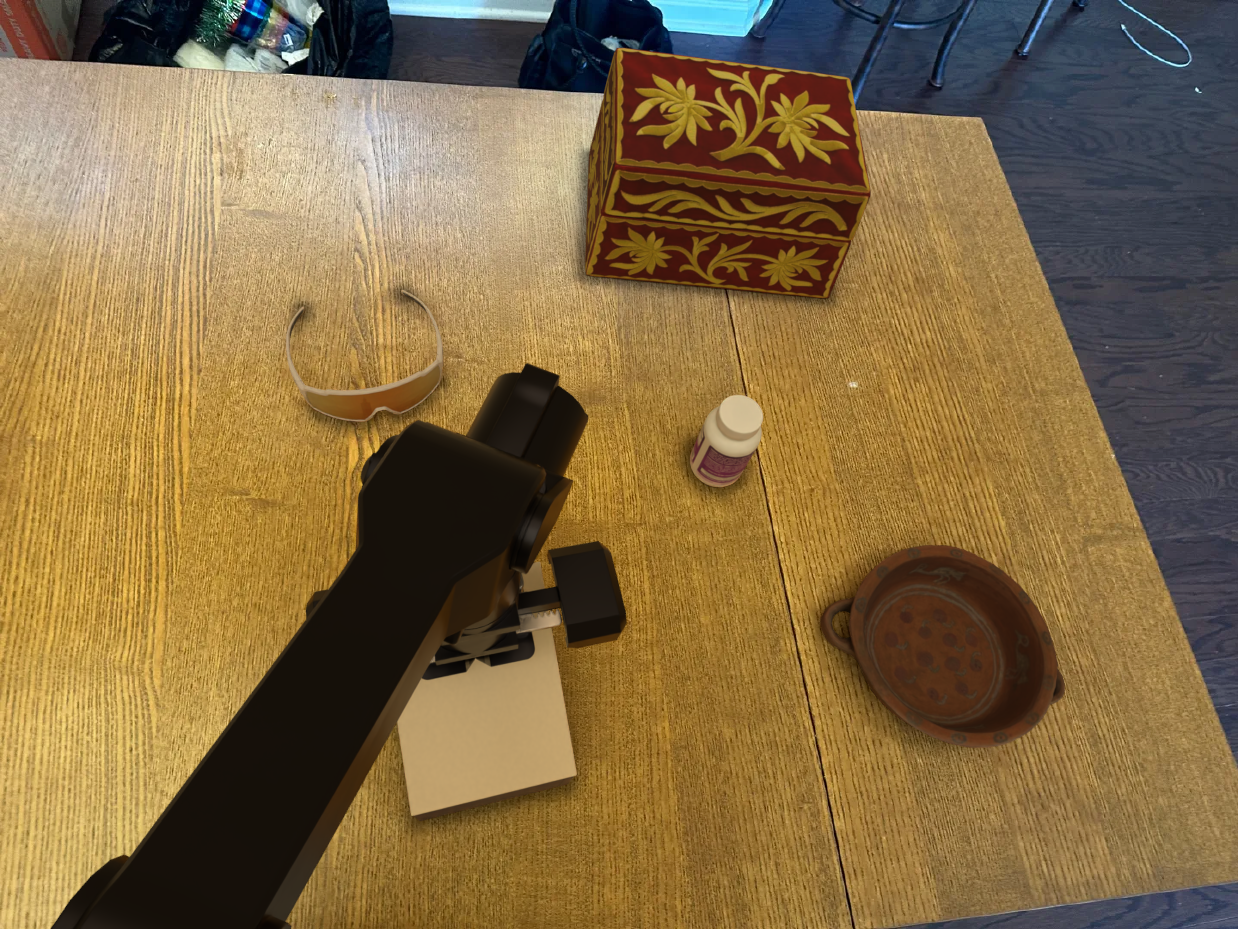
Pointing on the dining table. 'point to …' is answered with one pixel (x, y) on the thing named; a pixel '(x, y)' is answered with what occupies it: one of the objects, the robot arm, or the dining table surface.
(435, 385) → the sunglasses
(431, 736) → the lid
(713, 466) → the pill bottle
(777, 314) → the dining table surface
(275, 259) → the dining table surface
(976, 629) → the dish
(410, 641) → the robot arm
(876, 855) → the dining table surface
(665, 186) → the decorative box
